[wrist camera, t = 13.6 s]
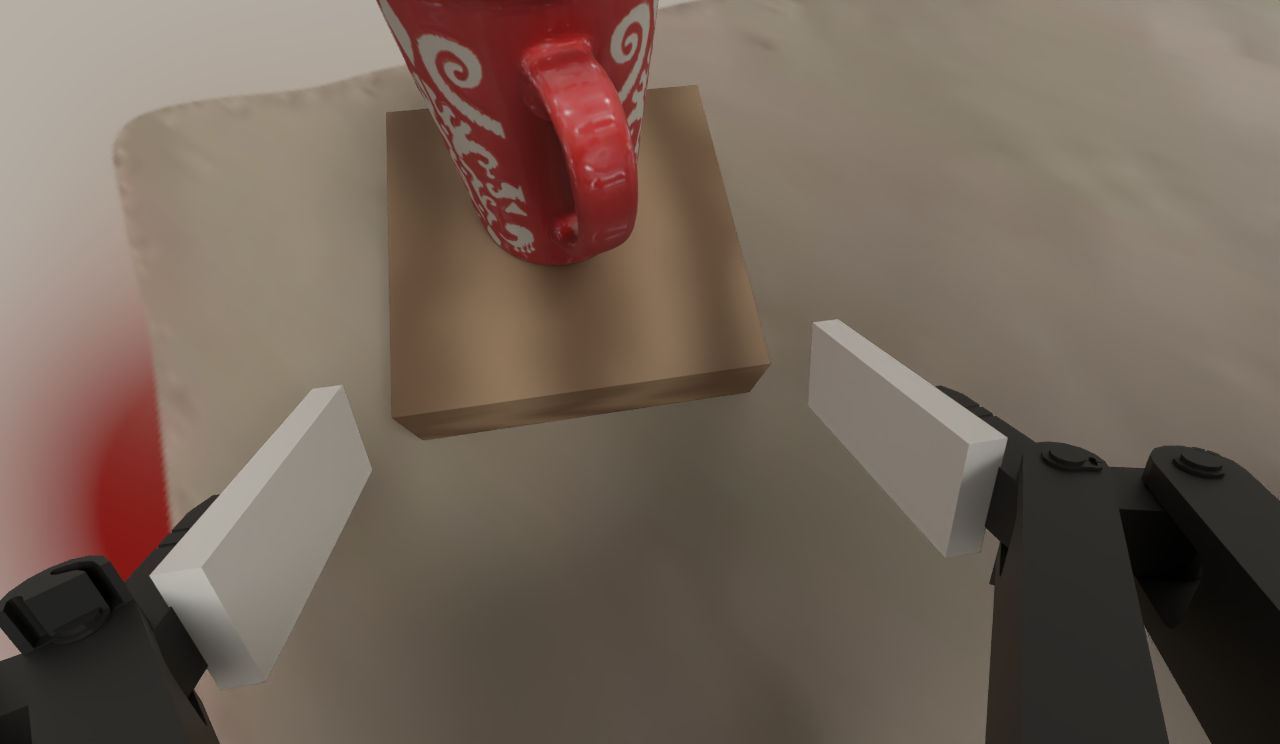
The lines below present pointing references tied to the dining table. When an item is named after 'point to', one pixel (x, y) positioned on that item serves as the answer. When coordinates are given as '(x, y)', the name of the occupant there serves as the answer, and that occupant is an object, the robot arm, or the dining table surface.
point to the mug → (537, 112)
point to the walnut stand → (566, 292)
